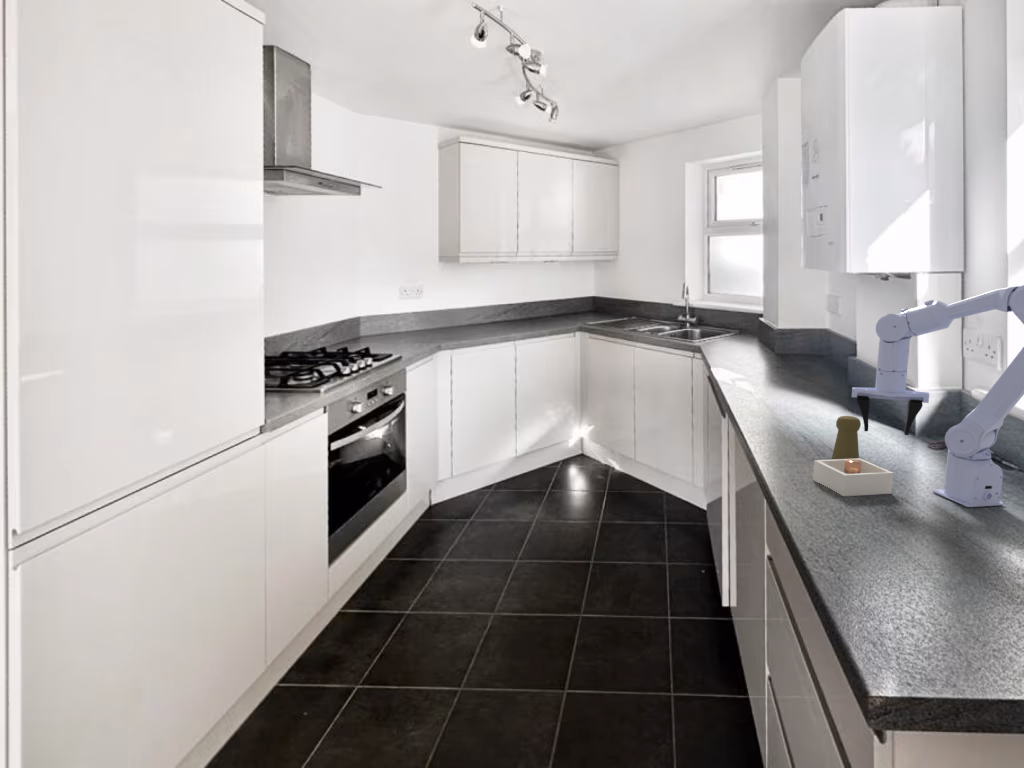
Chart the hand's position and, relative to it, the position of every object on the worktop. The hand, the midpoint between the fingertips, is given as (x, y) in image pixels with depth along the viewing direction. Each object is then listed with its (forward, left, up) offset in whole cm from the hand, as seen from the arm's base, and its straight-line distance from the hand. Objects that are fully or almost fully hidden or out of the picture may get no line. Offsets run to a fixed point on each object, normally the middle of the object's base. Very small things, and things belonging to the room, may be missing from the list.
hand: (885, 432), depth 152 cm
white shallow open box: (-4, +10, -10) cm, 15 cm away
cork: (+13, 0, -11) cm, 17 cm away
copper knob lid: (-4, +10, -10) cm, 15 cm away
